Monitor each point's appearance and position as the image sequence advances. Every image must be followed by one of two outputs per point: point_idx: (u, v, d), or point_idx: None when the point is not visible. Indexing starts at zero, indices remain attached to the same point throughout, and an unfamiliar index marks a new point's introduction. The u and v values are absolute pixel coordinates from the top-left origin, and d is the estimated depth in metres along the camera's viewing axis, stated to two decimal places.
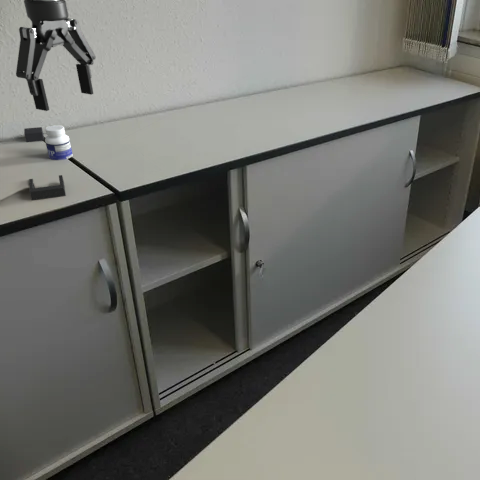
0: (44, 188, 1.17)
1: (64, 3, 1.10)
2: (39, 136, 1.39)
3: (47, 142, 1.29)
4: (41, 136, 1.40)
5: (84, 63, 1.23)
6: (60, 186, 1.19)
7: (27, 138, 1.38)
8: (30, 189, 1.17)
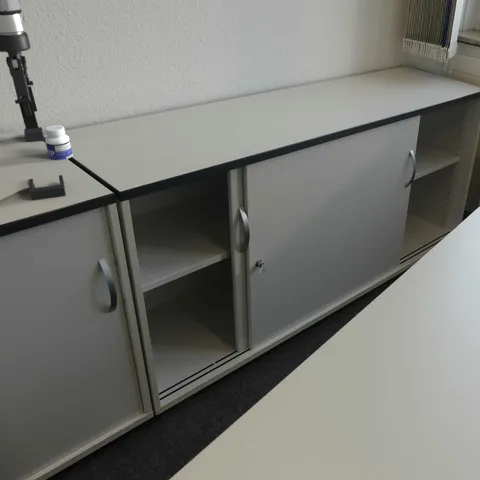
0: (44, 188, 1.17)
1: None
2: (39, 136, 1.39)
3: (47, 142, 1.29)
4: (41, 136, 1.40)
5: (26, 85, 1.40)
6: (60, 186, 1.19)
7: (27, 138, 1.38)
8: (30, 189, 1.17)
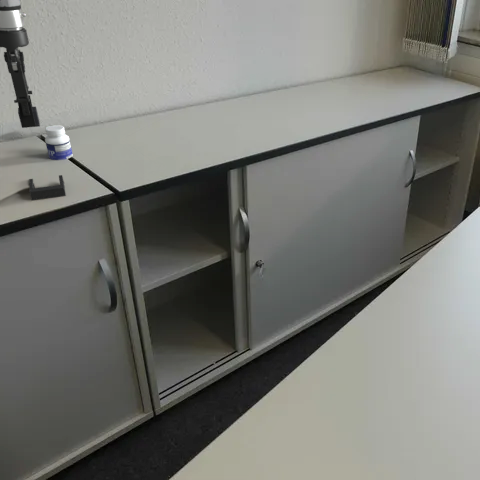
0: (44, 188, 1.17)
1: None
2: (33, 115, 1.37)
3: (47, 142, 1.29)
4: (35, 115, 1.37)
5: None
6: (60, 186, 1.19)
7: None
8: (30, 189, 1.17)
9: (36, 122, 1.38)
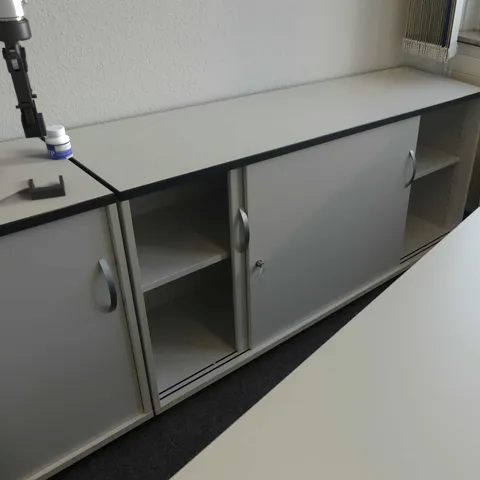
0: (44, 188, 1.17)
1: None
2: (39, 123, 1.14)
3: (47, 142, 1.29)
4: (41, 123, 1.15)
5: None
6: (60, 186, 1.19)
7: (24, 126, 1.13)
8: (30, 189, 1.17)
9: (43, 131, 1.15)
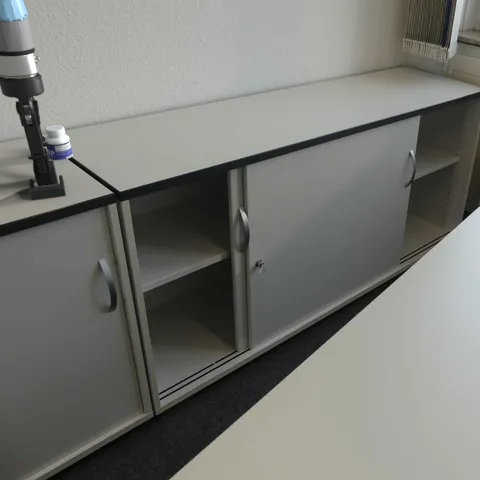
0: (44, 188, 1.17)
1: None
2: (50, 171, 1.18)
3: None
4: (53, 172, 1.18)
5: None
6: (60, 186, 1.19)
7: None
8: (30, 189, 1.17)
9: (54, 179, 1.19)
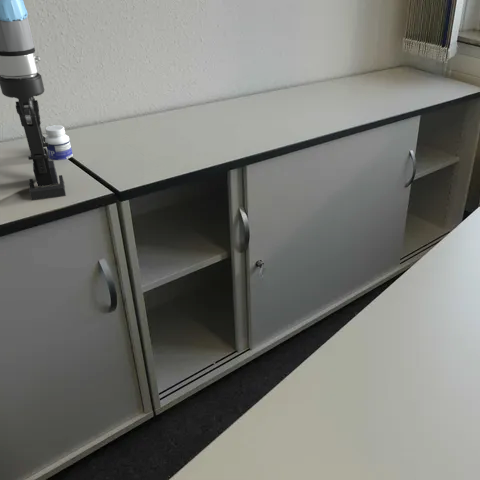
0: (44, 188, 1.17)
1: None
2: (50, 171, 1.18)
3: (47, 142, 1.29)
4: (53, 172, 1.18)
5: None
6: (60, 186, 1.19)
7: None
8: (30, 189, 1.17)
9: (54, 179, 1.19)
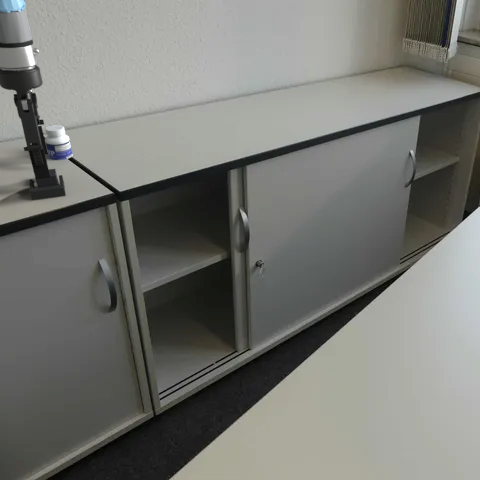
0: (44, 188, 1.17)
1: None
2: (52, 180, 1.19)
3: (47, 142, 1.29)
4: (55, 180, 1.19)
5: None
6: (60, 186, 1.19)
7: (38, 183, 1.18)
8: (30, 189, 1.17)
9: None
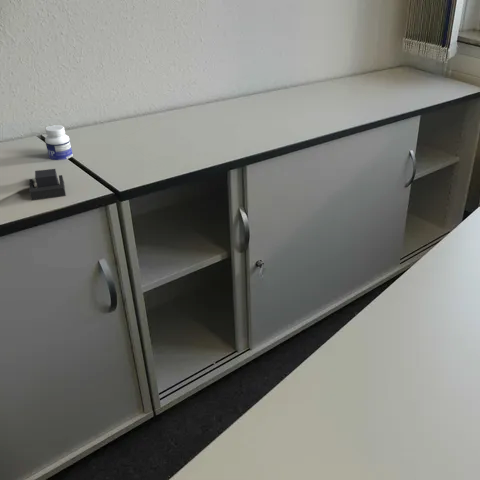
0: (44, 188, 1.17)
1: None
2: (52, 180, 1.19)
3: (47, 142, 1.29)
4: (55, 180, 1.19)
5: None
6: (60, 186, 1.19)
7: (38, 183, 1.18)
8: (30, 189, 1.17)
9: None
